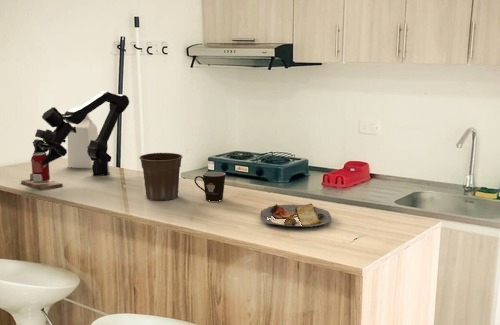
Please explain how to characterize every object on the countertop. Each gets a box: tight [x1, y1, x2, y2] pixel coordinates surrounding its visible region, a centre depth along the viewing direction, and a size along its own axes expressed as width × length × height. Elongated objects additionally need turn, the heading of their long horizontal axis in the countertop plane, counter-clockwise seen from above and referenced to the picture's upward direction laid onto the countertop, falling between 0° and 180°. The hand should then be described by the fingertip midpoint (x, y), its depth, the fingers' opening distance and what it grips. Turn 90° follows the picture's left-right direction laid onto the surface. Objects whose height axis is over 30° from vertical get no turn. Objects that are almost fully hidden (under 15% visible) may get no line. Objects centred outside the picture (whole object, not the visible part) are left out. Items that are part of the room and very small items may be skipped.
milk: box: [67, 113, 99, 169], centre depth 275 cm, size 12×12×26 cm
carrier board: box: [20, 173, 64, 191], centre depth 235 cm, size 18×9×4 cm, turn 48°
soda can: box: [30, 152, 51, 183], centre depth 234 cm, size 7×7×12 cm
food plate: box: [260, 203, 333, 228], centre depth 187 cm, size 25×23×4 cm
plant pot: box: [139, 152, 183, 202], centre depth 214 cm, size 16×16×16 cm
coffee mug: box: [193, 171, 226, 202], centre depth 213 cm, size 12×9×10 cm
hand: (37, 163), depth 232 cm, fingers open, 9 cm apart
